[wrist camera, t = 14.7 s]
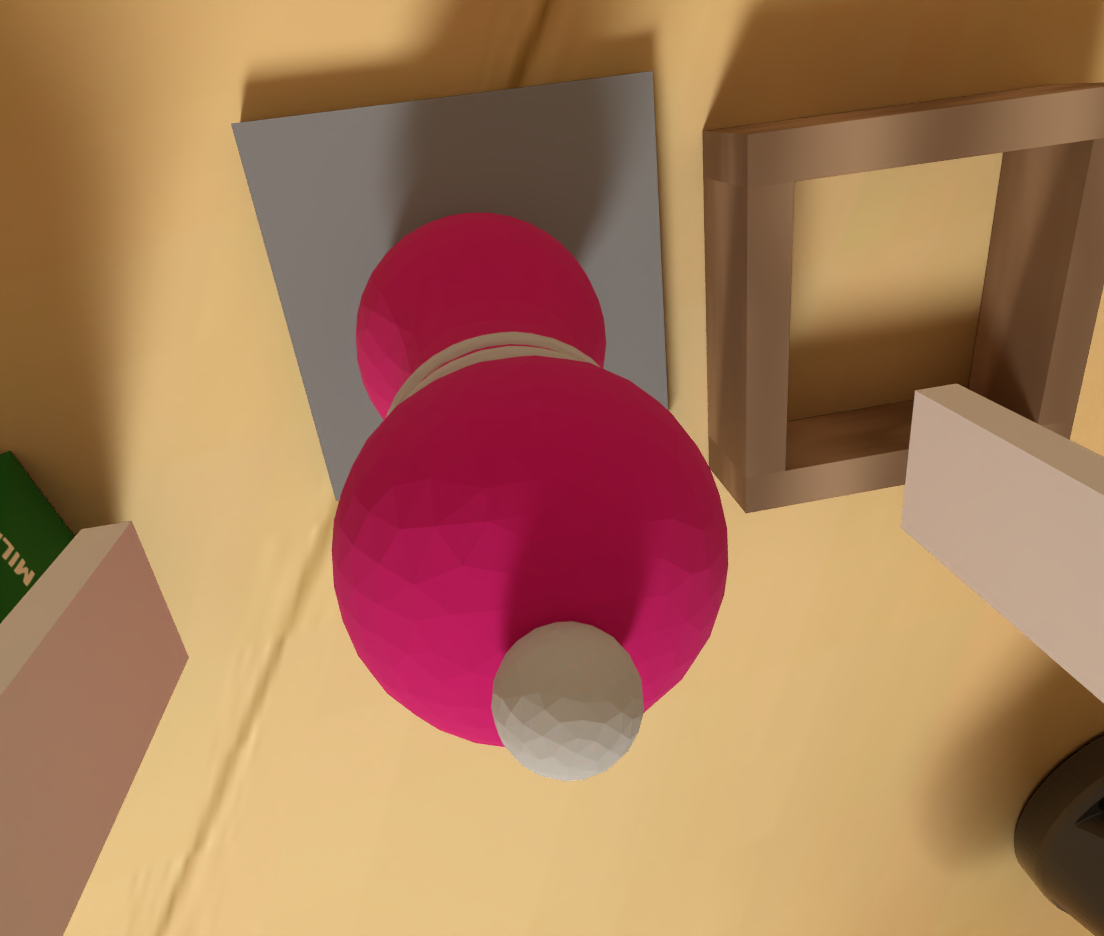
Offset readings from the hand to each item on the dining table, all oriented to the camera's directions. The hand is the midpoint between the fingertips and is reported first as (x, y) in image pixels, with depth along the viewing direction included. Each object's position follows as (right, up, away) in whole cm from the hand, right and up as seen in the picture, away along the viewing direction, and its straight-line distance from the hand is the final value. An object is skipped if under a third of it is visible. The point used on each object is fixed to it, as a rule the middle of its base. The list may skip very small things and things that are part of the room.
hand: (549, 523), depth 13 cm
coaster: (-3, +7, +14) cm, 16 cm away
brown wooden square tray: (+12, +8, +16) cm, 22 cm away
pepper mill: (-3, +7, +13) cm, 15 cm away
